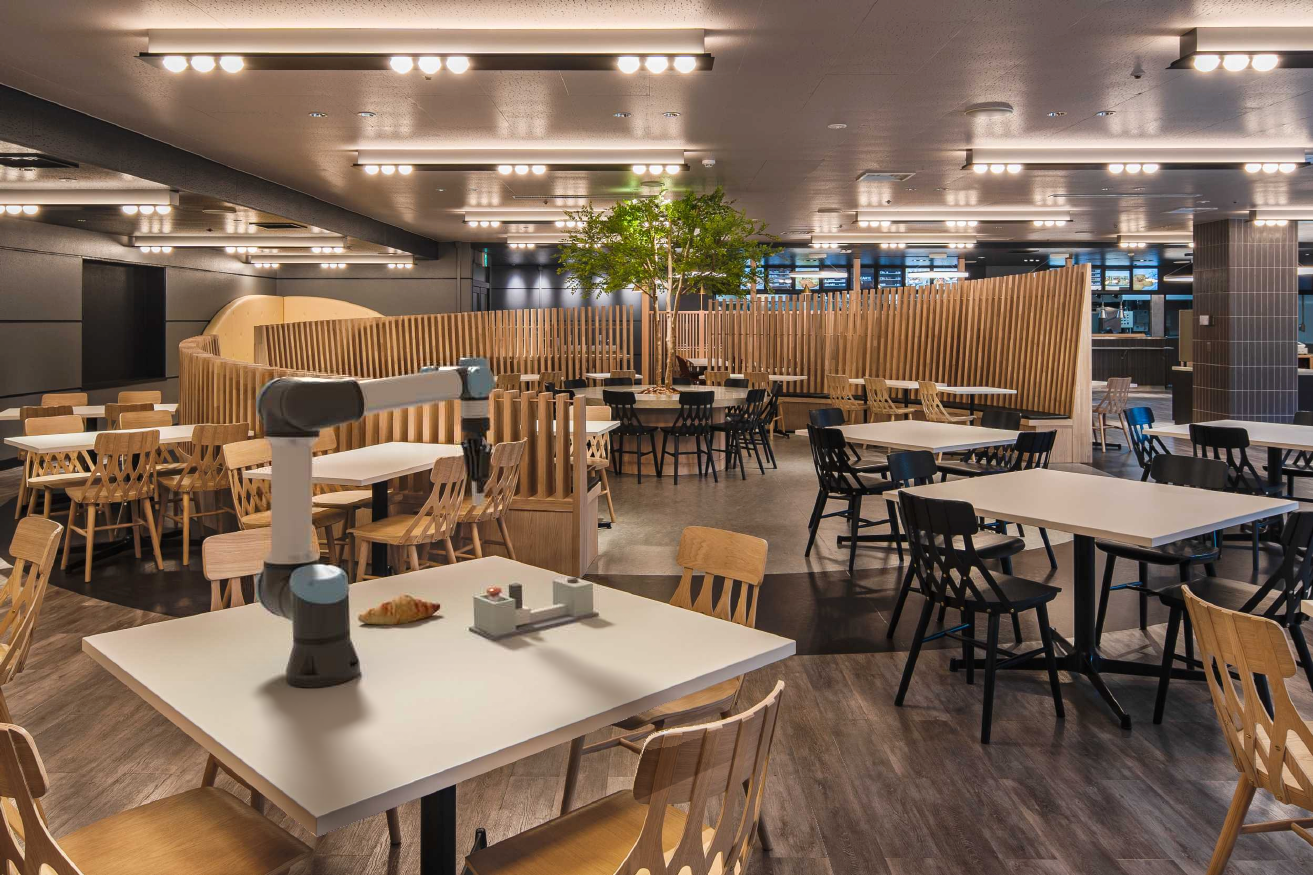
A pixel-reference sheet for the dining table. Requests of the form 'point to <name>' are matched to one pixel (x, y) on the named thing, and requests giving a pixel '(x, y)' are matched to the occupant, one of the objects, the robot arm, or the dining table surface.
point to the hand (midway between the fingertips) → (478, 505)
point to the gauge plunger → (494, 594)
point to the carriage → (519, 604)
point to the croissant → (399, 611)
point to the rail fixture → (534, 611)
